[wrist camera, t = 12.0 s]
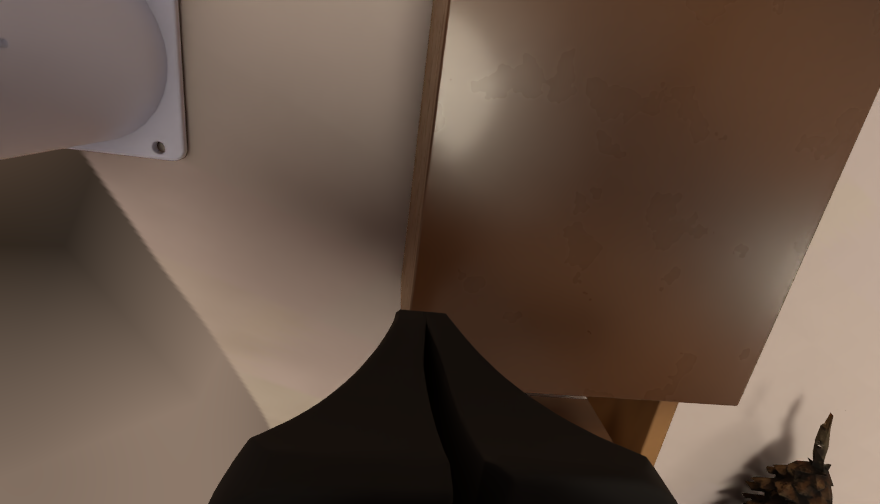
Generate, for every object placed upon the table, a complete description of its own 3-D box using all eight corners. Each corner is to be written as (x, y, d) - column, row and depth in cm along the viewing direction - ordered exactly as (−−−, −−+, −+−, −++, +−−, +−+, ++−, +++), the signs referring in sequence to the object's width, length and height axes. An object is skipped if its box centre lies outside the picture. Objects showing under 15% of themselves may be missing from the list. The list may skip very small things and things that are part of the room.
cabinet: (625, 299, 24) (738, 406, 16) (400, 278, 22) (399, 386, 14) (711, 21, 19) (931, -26, 11) (436, -27, 18) (463, -122, 10)
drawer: (568, 480, 27) (619, 601, 21) (389, 473, 26) (385, 600, 19) (653, 206, 21) (761, 257, 15) (426, 179, 20) (438, 222, 13)
